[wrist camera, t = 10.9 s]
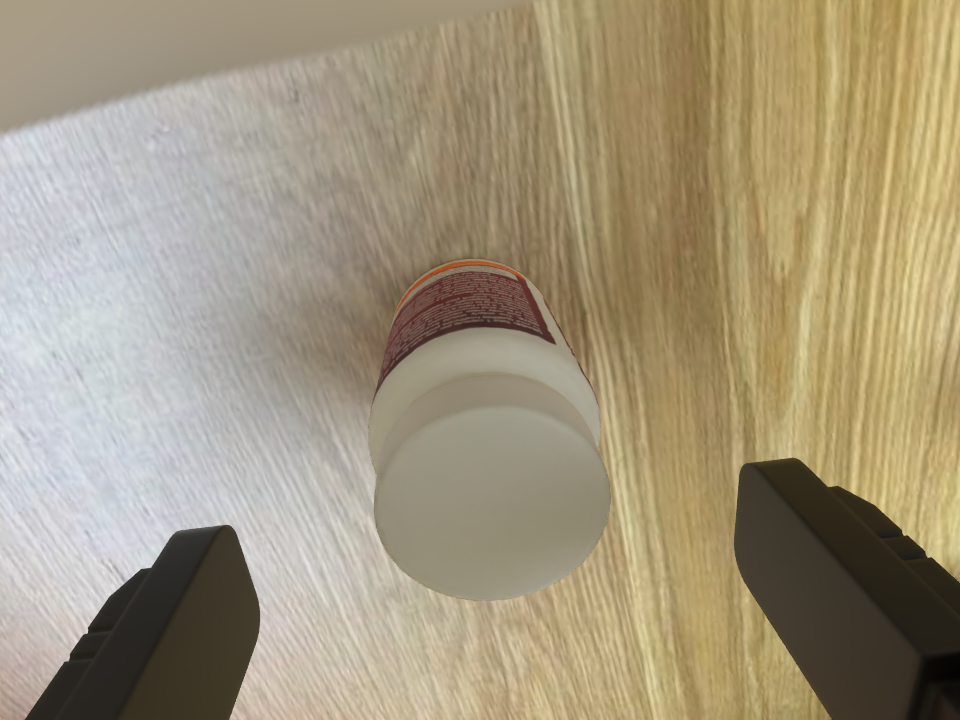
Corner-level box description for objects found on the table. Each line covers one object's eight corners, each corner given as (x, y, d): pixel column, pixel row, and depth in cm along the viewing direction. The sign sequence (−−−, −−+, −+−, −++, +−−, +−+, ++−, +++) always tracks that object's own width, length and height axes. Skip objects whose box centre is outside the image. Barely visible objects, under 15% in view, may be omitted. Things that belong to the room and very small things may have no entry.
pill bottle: (358, 342, 17) (289, 528, 10) (466, 220, 16) (485, 323, 8) (477, 433, 19) (498, 659, 11) (584, 328, 18) (692, 501, 10)
